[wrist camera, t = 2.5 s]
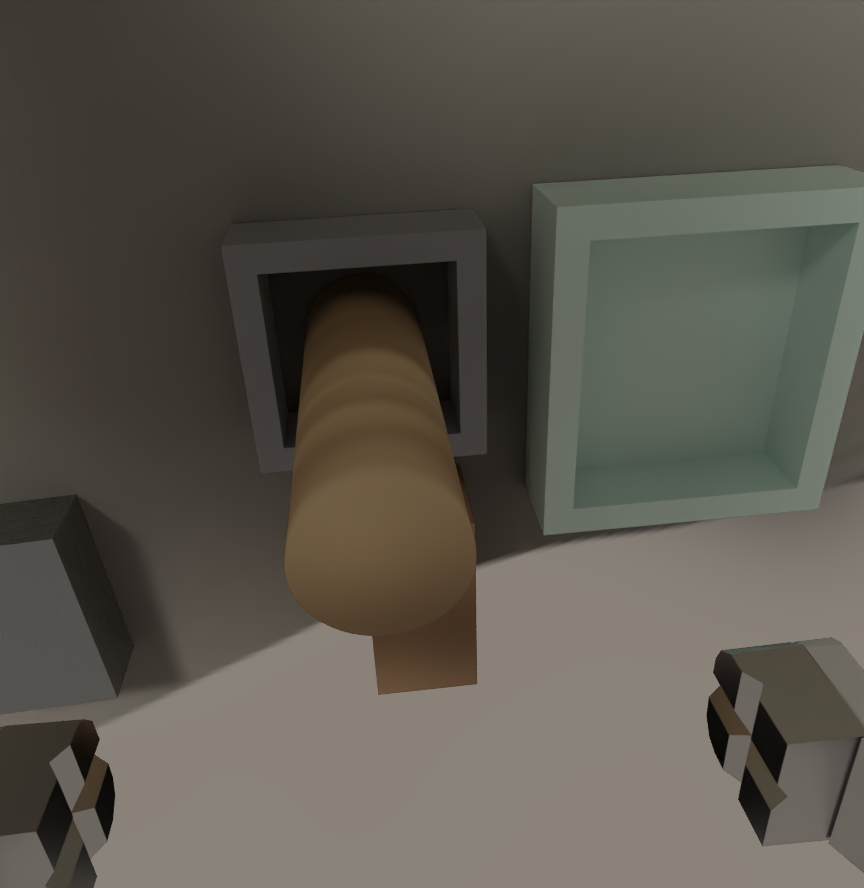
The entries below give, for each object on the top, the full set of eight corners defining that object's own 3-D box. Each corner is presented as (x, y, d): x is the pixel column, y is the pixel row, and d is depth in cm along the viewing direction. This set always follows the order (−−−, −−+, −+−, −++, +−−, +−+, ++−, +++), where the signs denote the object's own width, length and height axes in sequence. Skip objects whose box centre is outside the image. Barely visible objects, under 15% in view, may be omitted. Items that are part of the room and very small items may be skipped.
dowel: (300, 279, 20) (271, 492, 11) (416, 270, 20) (475, 474, 11) (313, 384, 21) (297, 644, 13) (421, 375, 22) (477, 626, 13)
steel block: (-96, 510, 22) (-142, 564, 20) (79, 487, 23) (52, 539, 21) (-19, 660, 25) (-52, 721, 23) (135, 639, 26) (117, 697, 24)
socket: (230, 223, 19) (219, 245, 17) (473, 208, 19) (486, 228, 18) (266, 436, 22) (260, 473, 20) (475, 419, 22) (487, 454, 21)
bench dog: (358, 473, 23) (361, 533, 20) (459, 464, 23) (474, 523, 21) (374, 625, 26) (378, 694, 23) (463, 616, 26) (477, 684, 24)
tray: (532, 184, 19) (557, 206, 17) (840, 164, 20) (901, 184, 18) (524, 487, 24) (543, 535, 22) (775, 464, 24) (818, 509, 22)
